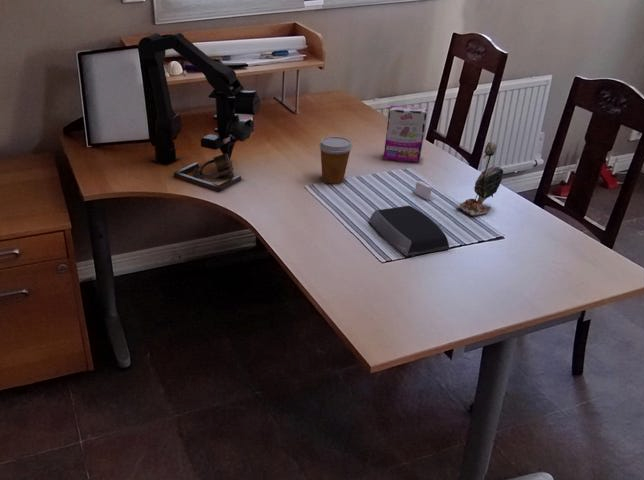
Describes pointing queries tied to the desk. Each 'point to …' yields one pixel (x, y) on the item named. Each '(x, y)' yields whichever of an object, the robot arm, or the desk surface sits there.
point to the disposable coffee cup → (334, 158)
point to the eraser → (423, 190)
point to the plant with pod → (484, 185)
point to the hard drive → (409, 230)
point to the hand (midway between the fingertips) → (228, 160)
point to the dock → (182, 175)
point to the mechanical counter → (217, 167)
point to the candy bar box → (405, 133)
